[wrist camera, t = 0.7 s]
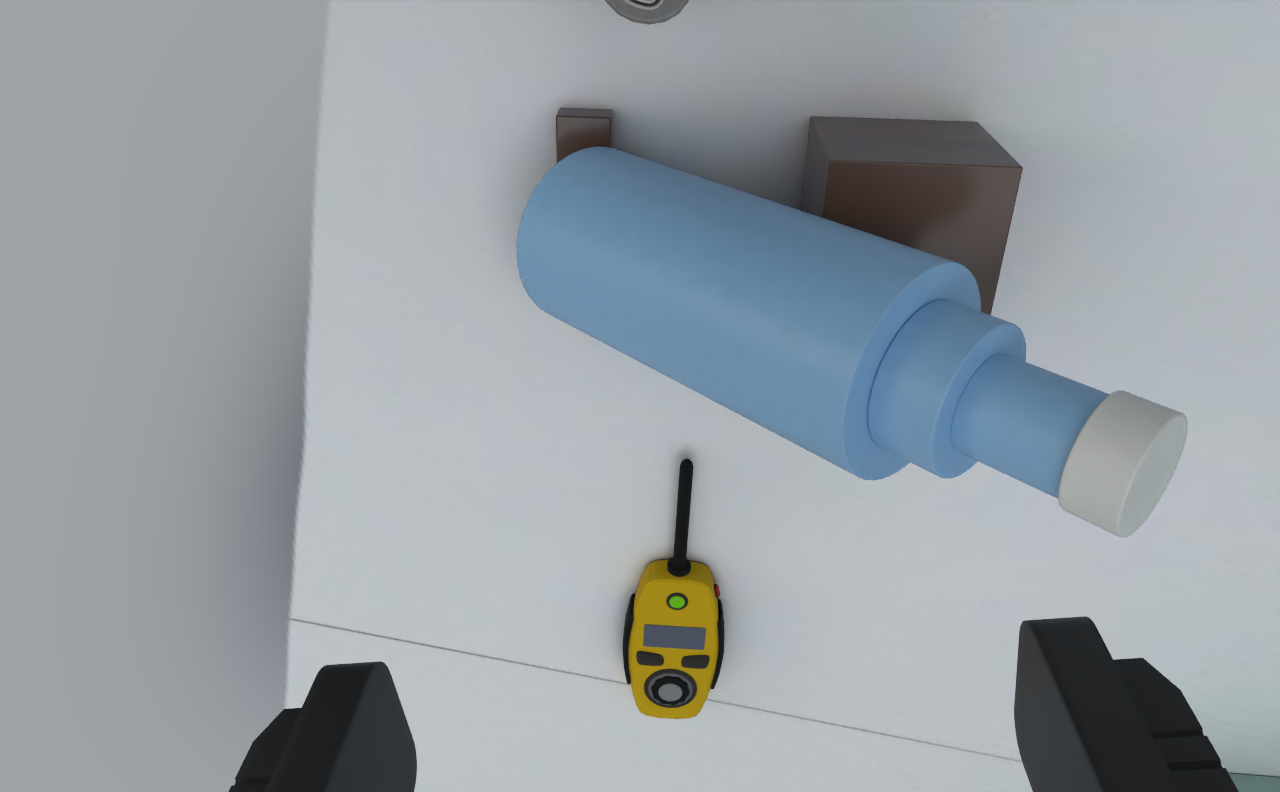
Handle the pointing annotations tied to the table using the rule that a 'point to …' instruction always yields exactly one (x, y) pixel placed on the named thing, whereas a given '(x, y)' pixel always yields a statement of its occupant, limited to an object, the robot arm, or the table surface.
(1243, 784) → the planter
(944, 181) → the dark brown cuboids
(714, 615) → the yellow walkie talkie
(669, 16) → the lighter
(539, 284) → the bottle
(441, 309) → the table surface
